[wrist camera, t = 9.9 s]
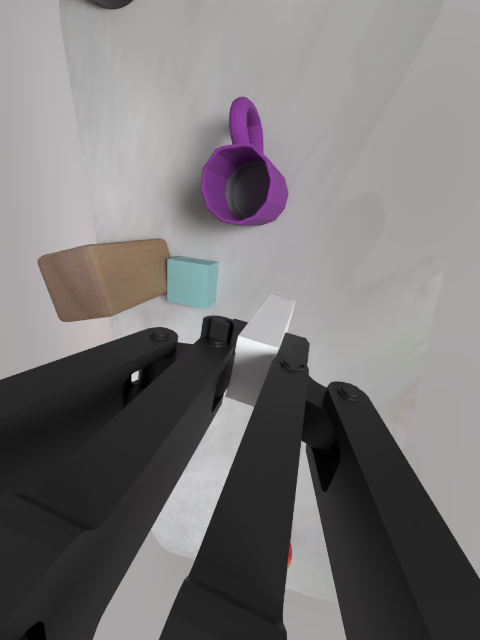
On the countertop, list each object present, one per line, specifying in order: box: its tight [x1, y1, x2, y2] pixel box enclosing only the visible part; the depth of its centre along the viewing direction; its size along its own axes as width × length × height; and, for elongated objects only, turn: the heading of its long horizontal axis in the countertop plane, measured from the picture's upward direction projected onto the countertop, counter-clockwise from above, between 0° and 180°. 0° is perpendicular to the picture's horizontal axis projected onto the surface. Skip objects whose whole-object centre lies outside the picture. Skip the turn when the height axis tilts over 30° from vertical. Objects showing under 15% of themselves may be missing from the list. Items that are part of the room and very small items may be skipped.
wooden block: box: [38, 239, 170, 322], centre depth 47 cm, size 10×10×20 cm
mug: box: [201, 97, 288, 225], centre depth 39 cm, size 9×16×15 cm, turn 5°
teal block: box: [167, 256, 219, 309], centre depth 52 cm, size 8×8×5 cm
